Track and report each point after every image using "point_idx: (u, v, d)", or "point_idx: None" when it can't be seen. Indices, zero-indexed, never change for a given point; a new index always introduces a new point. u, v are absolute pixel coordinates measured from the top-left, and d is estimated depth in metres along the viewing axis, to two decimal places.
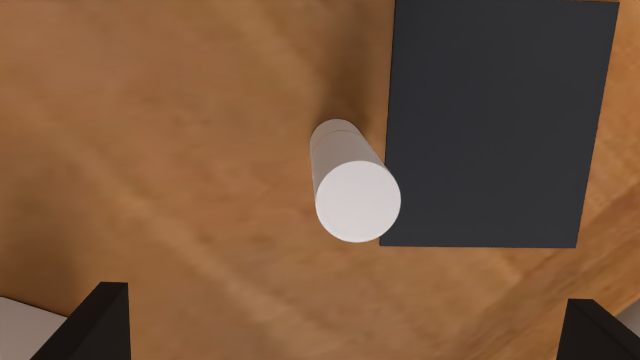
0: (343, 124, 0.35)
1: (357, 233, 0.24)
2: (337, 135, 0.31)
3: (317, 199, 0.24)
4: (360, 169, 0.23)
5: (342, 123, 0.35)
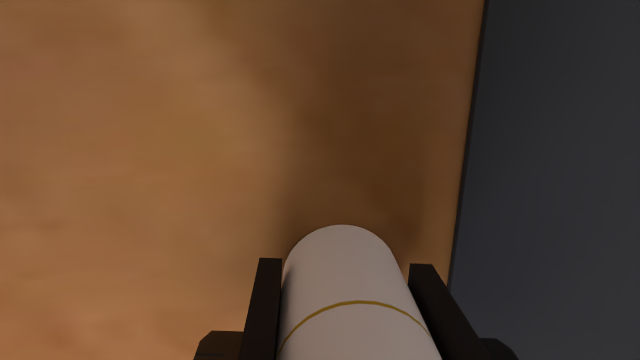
0: (360, 257, 0.14)
1: None
2: (348, 345, 0.10)
3: None
4: None
5: (357, 250, 0.15)
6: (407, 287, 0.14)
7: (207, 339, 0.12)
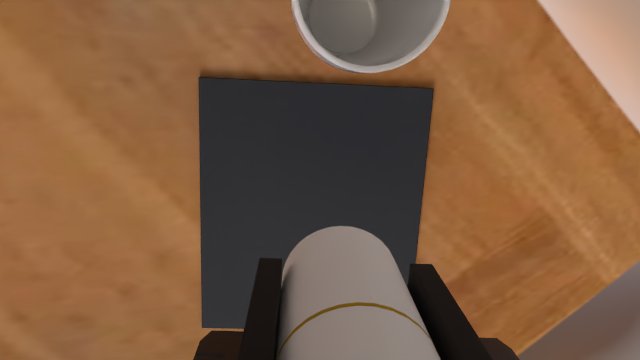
0: (360, 258, 0.14)
1: None
2: (348, 347, 0.10)
3: None
4: None
5: (357, 252, 0.15)
6: (407, 289, 0.14)
7: (208, 339, 0.12)
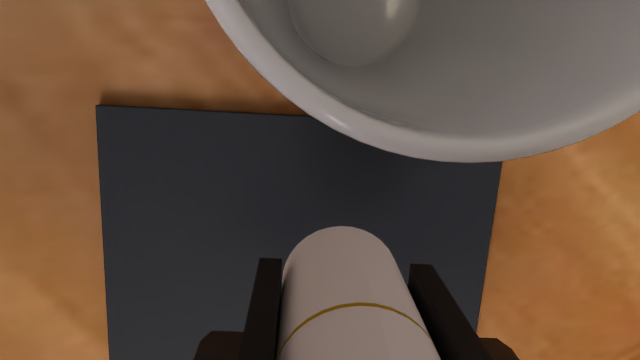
0: (360, 259, 0.14)
1: None
2: (348, 347, 0.10)
3: None
4: None
5: (357, 252, 0.15)
6: (407, 289, 0.14)
7: (207, 339, 0.12)
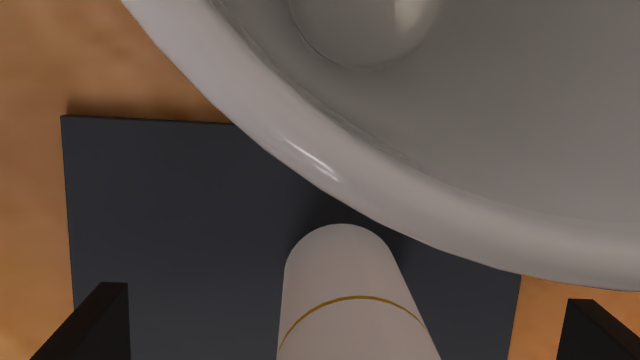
0: (359, 254, 0.15)
1: None
2: (347, 337, 0.10)
3: None
4: None
5: (357, 248, 0.15)
6: (405, 284, 0.15)
7: None
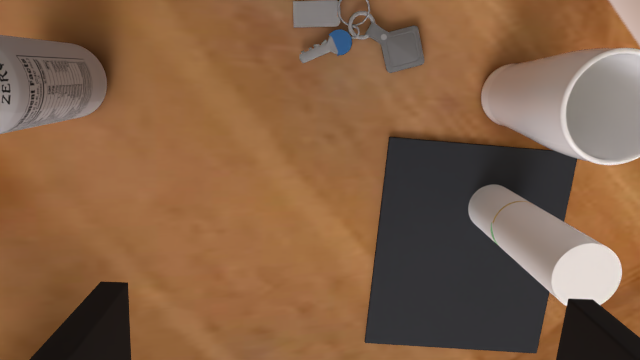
0: (511, 192, 0.40)
1: None
2: (526, 207, 0.36)
3: (554, 272, 0.29)
4: (593, 250, 0.28)
5: (508, 191, 0.41)
6: None
7: None
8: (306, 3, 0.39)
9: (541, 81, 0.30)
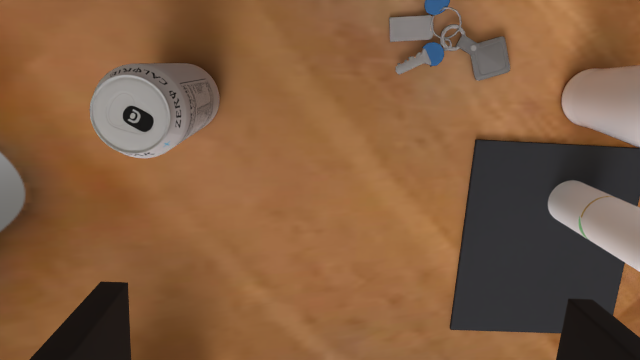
0: (593, 188, 0.43)
1: None
2: (616, 202, 0.39)
3: None
4: None
5: (589, 186, 0.44)
6: None
7: None
8: (402, 18, 0.42)
9: None
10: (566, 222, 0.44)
